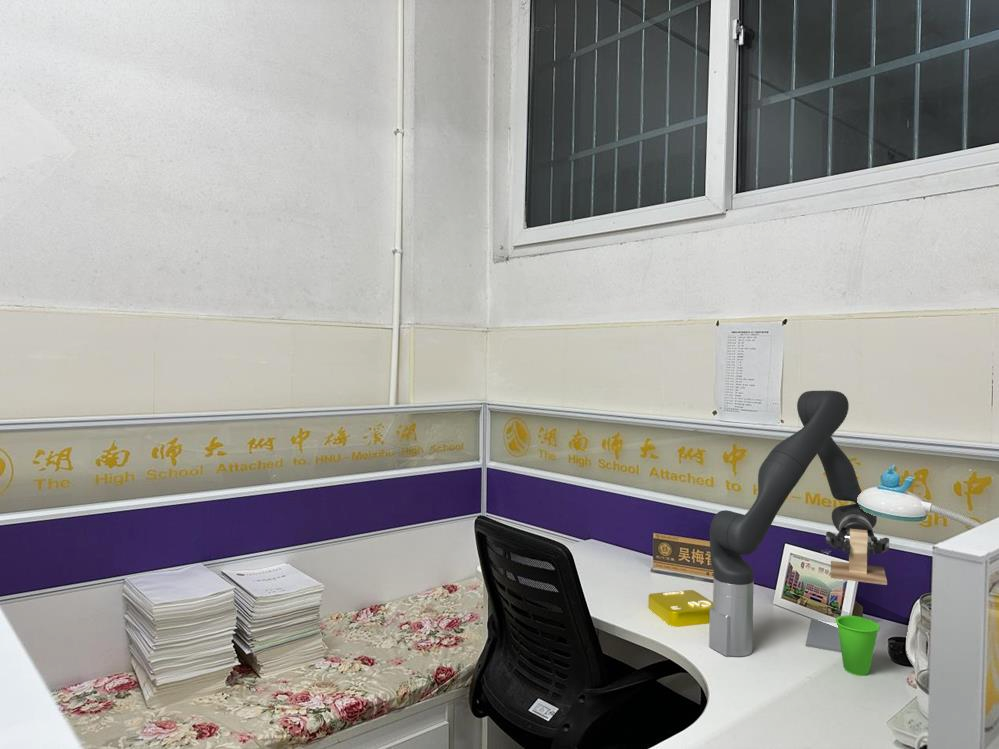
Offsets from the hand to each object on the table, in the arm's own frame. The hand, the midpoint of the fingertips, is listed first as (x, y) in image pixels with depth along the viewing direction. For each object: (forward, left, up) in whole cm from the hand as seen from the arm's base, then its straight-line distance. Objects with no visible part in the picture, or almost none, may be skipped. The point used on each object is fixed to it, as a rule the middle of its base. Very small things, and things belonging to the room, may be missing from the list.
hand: (858, 551), depth 157 cm
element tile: (-13, +44, -29) cm, 54 cm away
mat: (+13, +16, -28) cm, 34 cm away
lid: (+2, +2, -6) cm, 7 cm away
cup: (+2, +1, -28) cm, 28 cm away
